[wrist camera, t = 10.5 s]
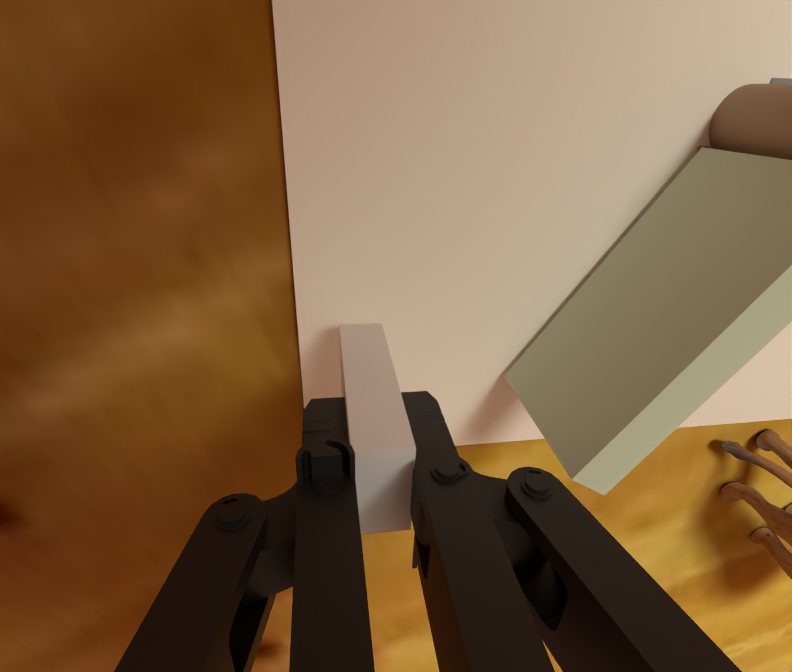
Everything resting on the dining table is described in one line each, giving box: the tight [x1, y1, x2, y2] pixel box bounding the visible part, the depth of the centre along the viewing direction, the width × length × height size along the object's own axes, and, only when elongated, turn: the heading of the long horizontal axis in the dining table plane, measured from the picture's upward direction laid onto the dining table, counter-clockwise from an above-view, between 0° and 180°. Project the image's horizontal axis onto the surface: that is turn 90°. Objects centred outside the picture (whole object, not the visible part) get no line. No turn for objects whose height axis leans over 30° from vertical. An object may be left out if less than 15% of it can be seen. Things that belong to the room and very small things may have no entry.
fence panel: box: [504, 147, 792, 495], centre depth 16 cm, size 2×11×6 cm, turn 145°
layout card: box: [272, 0, 792, 446], centre depth 18 cm, size 22×32×1 cm
